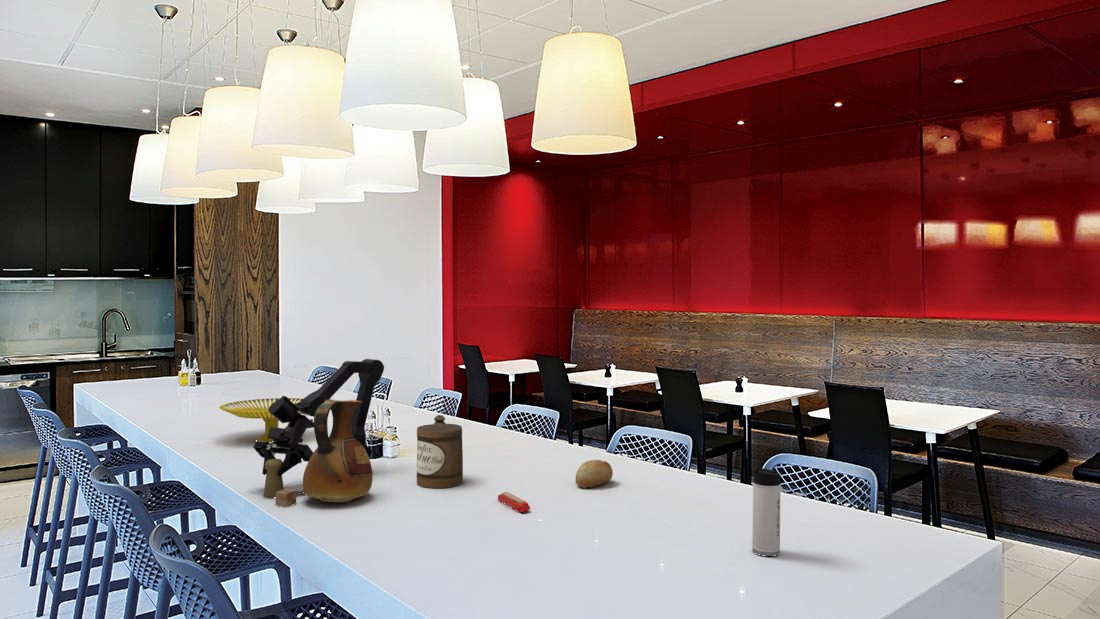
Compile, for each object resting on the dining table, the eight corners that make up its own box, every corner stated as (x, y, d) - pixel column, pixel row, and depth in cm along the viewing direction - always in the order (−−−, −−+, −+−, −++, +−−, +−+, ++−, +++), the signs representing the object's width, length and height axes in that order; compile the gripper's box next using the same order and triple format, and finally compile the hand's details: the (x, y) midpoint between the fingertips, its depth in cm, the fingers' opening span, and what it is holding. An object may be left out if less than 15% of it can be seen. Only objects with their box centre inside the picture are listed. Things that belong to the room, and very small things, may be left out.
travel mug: (747, 548, 177) (747, 466, 176) (773, 547, 177) (774, 465, 177) (756, 557, 170) (757, 472, 170) (784, 557, 171) (785, 471, 171)
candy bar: (495, 501, 217) (495, 491, 217) (506, 499, 219) (506, 489, 219) (520, 515, 203) (520, 504, 203) (532, 513, 205) (532, 503, 205)
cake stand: (302, 450, 286) (302, 412, 285) (200, 449, 286) (200, 411, 286) (334, 431, 326) (334, 398, 326) (244, 430, 326) (244, 397, 326)
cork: (277, 498, 217) (277, 462, 217) (259, 497, 218) (259, 461, 218) (288, 493, 223) (288, 457, 223) (270, 492, 224) (270, 456, 224)
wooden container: (407, 483, 237) (407, 415, 236) (443, 475, 248) (443, 410, 247) (436, 491, 227) (436, 420, 226) (472, 482, 238) (472, 415, 237)
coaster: (304, 485, 233) (304, 483, 233) (318, 490, 227) (318, 487, 227) (281, 490, 227) (281, 487, 227) (293, 495, 221) (293, 492, 221)
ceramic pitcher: (385, 493, 224) (385, 396, 223) (346, 512, 205) (346, 405, 204) (330, 488, 230) (331, 393, 229) (288, 505, 211) (288, 401, 210)
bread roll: (620, 483, 238) (621, 458, 238) (592, 492, 227) (592, 466, 227) (597, 478, 245) (597, 454, 245) (568, 486, 234) (569, 461, 233)
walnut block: (285, 502, 214) (285, 488, 214) (296, 504, 213) (296, 490, 212) (275, 506, 210) (275, 492, 210) (286, 507, 209) (286, 493, 209)
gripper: (257, 414, 227) (231, 457, 217) (308, 418, 221) (284, 462, 211) (273, 435, 235) (250, 478, 224) (323, 439, 229) (301, 483, 219)
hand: (270, 474), depth 219 cm, fingers closed on cork, 5 cm apart
